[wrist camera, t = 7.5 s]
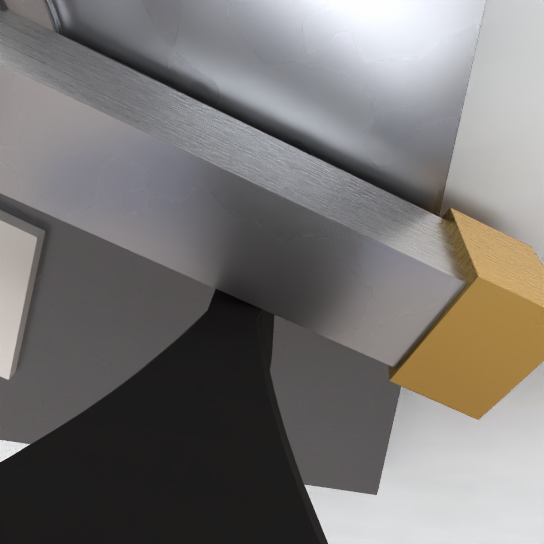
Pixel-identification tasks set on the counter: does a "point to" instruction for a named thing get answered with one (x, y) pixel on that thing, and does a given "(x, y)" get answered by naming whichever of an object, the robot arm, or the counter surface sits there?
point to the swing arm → (266, 221)
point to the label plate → (16, 284)
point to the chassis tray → (285, 127)
